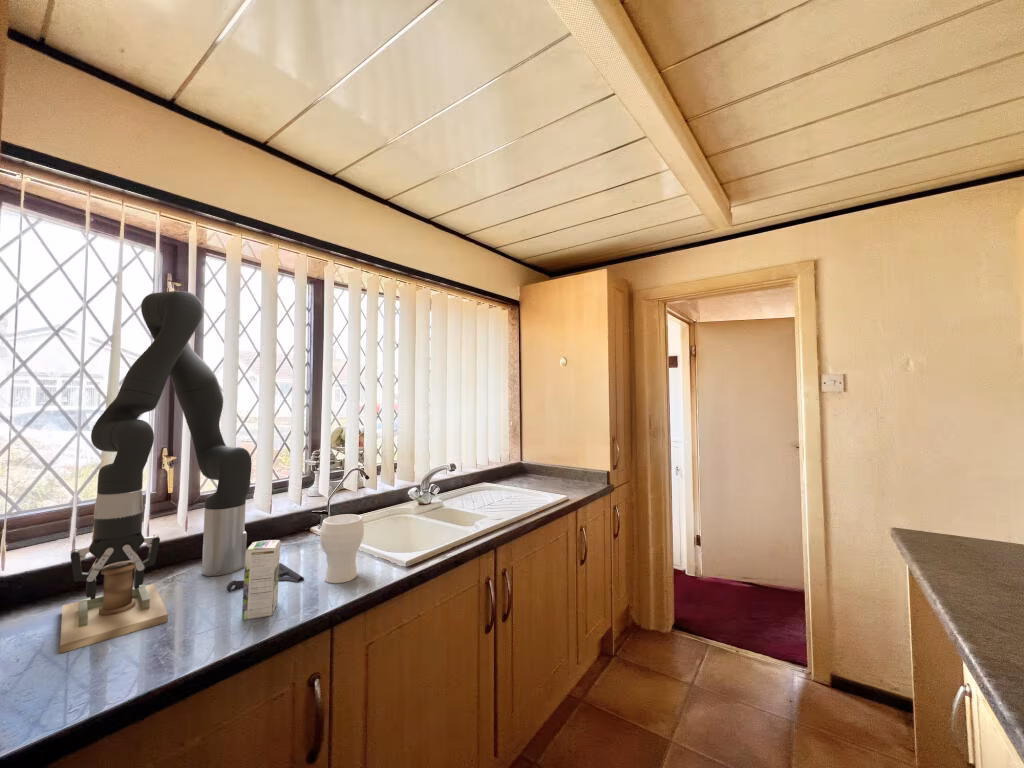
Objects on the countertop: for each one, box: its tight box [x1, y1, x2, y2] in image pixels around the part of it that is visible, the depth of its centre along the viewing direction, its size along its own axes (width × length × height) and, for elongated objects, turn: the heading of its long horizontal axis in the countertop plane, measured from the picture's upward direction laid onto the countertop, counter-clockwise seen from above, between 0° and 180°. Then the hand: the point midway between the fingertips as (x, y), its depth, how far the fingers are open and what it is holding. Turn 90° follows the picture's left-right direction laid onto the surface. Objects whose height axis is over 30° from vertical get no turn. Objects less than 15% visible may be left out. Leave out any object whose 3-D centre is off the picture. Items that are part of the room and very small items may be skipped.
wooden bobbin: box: [99, 560, 136, 616], centre depth 87 cm, size 6×6×9 cm
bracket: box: [226, 562, 305, 593], centre depth 104 cm, size 14×15×3 cm
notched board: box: [59, 583, 169, 654], centre depth 87 cm, size 15×21×4 cm
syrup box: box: [241, 539, 281, 621], centre depth 89 cm, size 6×6×14 cm
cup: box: [319, 513, 365, 584], centre depth 107 cm, size 11×11×15 cm
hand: (115, 592), depth 87 cm, fingers open, 6 cm apart
